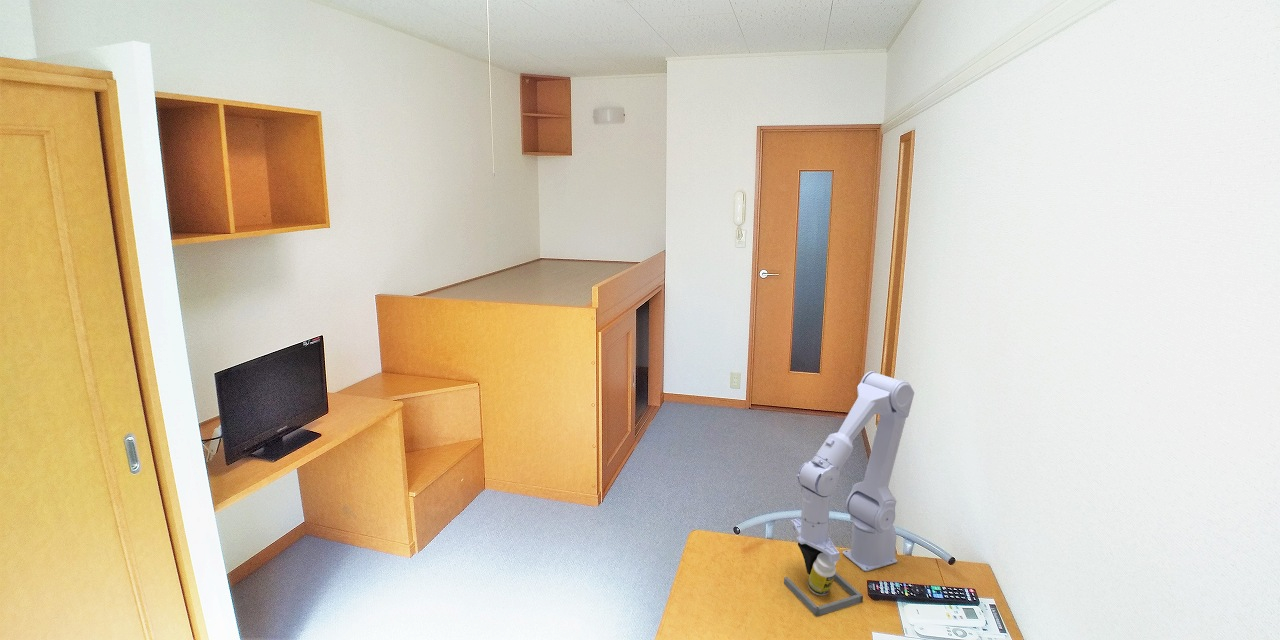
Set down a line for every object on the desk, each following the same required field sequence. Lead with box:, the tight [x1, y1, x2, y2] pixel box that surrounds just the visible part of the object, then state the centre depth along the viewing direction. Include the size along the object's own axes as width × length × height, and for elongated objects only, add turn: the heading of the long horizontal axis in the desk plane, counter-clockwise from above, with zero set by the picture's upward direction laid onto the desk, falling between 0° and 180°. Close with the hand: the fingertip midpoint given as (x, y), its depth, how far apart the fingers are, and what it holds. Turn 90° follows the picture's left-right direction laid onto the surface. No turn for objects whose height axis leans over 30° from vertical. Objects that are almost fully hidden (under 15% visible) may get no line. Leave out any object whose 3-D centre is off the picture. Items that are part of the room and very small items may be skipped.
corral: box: [783, 572, 864, 618], centre depth 135 cm, size 12×12×2 cm
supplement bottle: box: [807, 553, 837, 596], centre depth 134 cm, size 5×5×8 cm
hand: (812, 573), depth 138 cm, fingers closed
